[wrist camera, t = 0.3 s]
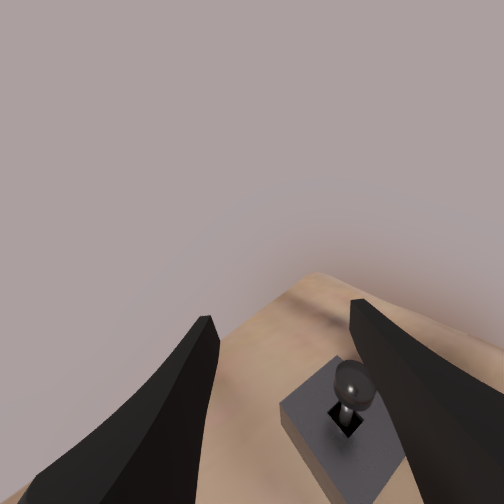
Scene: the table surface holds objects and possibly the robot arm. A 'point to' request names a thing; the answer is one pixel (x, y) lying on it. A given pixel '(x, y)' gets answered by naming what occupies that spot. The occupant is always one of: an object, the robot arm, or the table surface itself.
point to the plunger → (353, 389)
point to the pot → (341, 440)
